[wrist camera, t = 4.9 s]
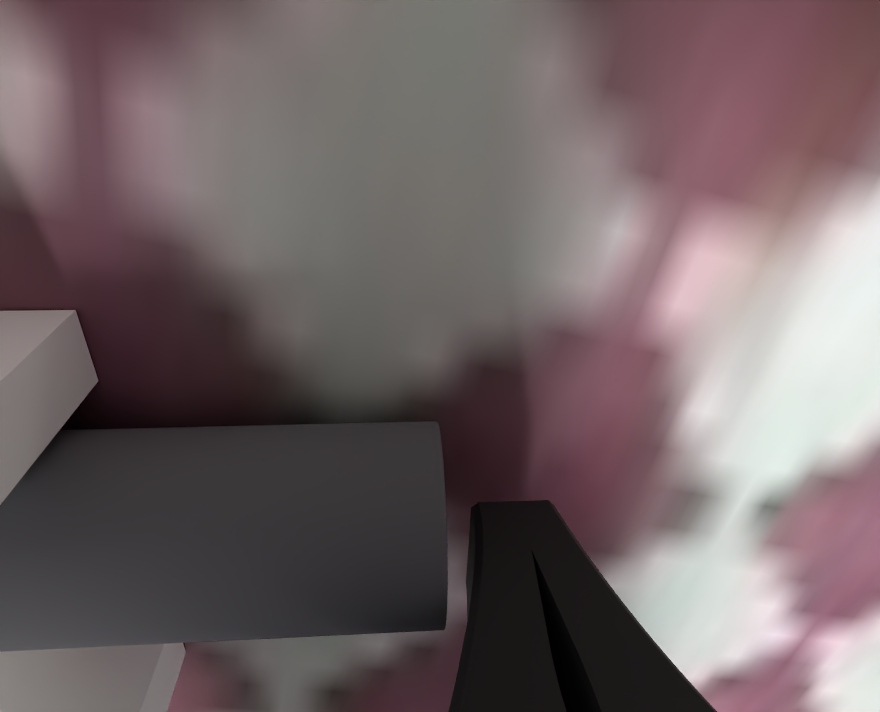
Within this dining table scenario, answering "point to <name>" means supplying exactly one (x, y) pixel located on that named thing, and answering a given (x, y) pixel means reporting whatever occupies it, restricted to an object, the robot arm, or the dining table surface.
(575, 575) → the robot arm
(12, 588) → the dark grey cylinder
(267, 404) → the dining table surface
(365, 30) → the dining table surface
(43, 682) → the duct
